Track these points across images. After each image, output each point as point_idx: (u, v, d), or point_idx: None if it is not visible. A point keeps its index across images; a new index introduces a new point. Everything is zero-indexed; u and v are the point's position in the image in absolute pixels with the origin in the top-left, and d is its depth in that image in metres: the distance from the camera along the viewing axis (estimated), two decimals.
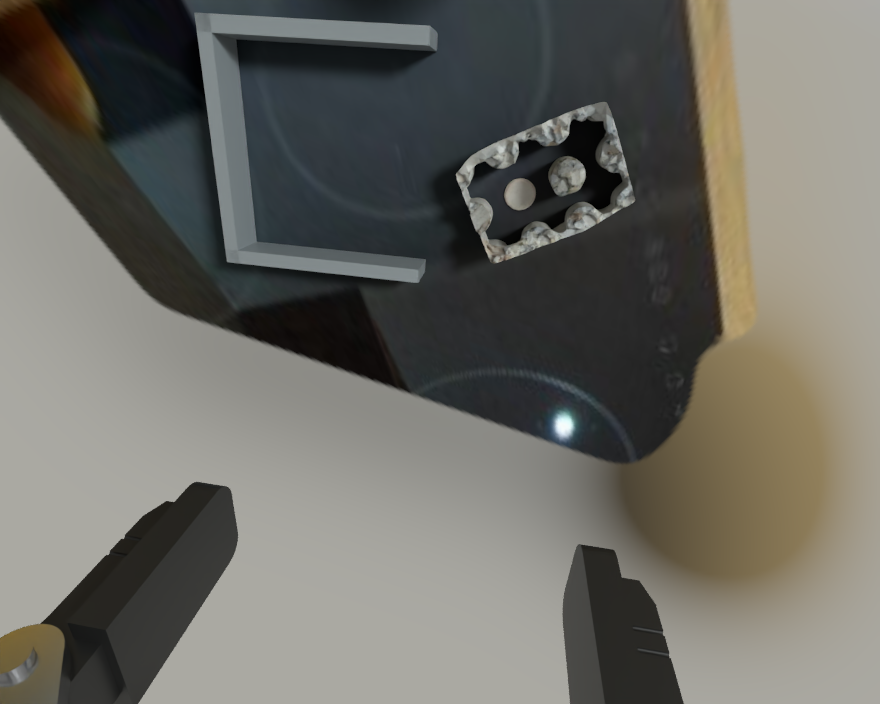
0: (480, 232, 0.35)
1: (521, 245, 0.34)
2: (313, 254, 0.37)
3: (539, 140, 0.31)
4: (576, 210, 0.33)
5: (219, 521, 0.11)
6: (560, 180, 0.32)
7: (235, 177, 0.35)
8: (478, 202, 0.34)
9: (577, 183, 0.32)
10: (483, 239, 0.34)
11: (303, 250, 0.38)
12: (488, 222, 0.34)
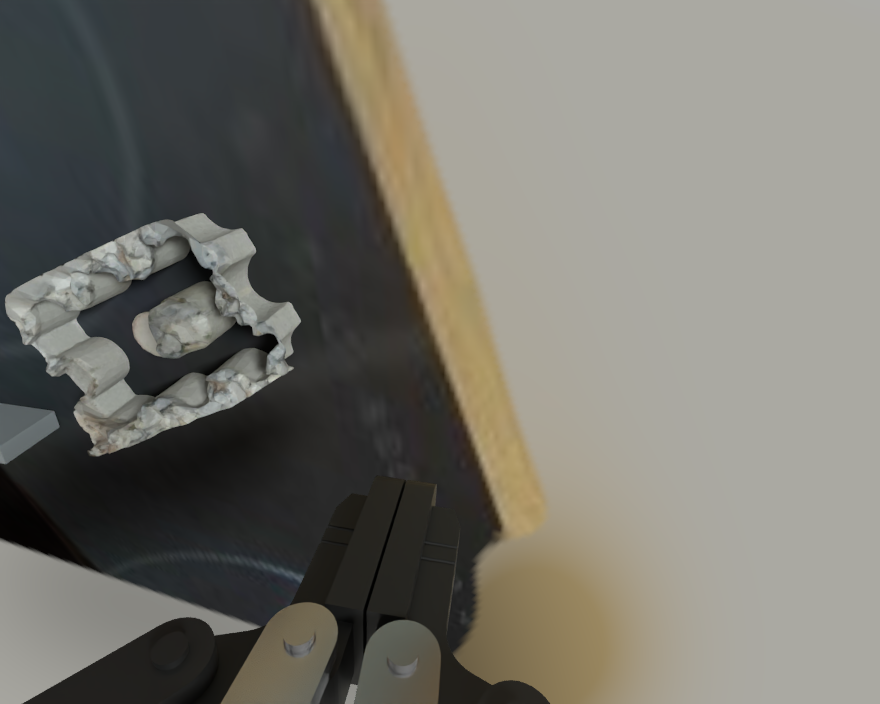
0: (85, 400, 0.21)
1: (133, 429, 0.21)
2: None
3: (112, 271, 0.18)
4: (208, 378, 0.20)
5: None
6: (164, 334, 0.19)
7: None
8: (68, 357, 0.21)
9: (196, 339, 0.19)
10: (77, 417, 0.21)
11: None
12: (94, 385, 0.21)
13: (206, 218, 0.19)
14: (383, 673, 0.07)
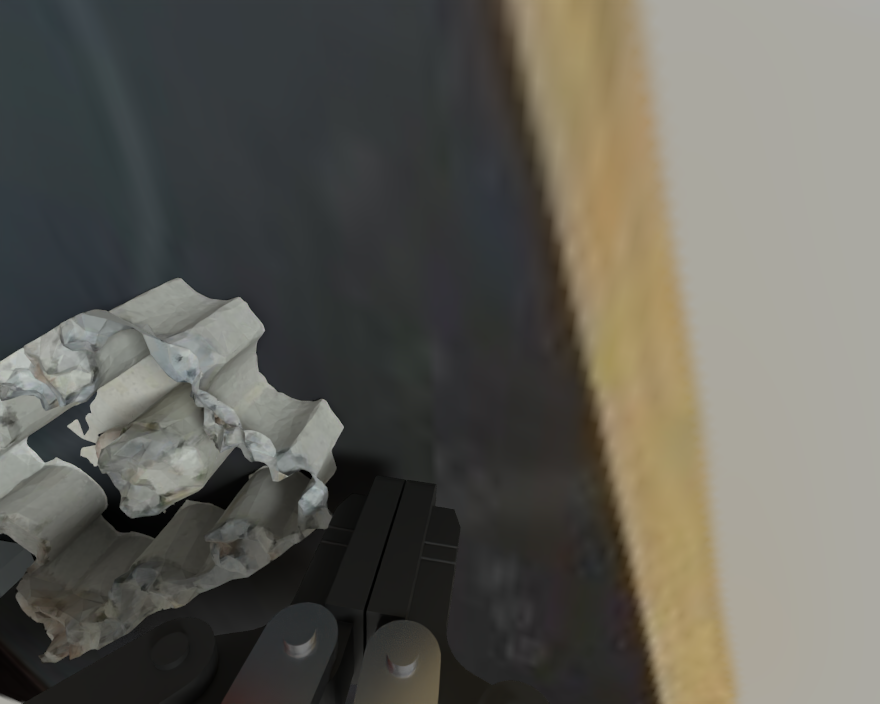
0: (34, 570, 0.14)
1: (104, 619, 0.13)
2: None
3: (34, 393, 0.11)
4: (208, 538, 0.12)
5: None
6: (129, 482, 0.12)
7: None
8: None
9: (181, 484, 0.12)
10: (21, 603, 0.14)
11: None
12: (44, 549, 0.14)
13: (181, 287, 0.12)
14: (383, 673, 0.07)
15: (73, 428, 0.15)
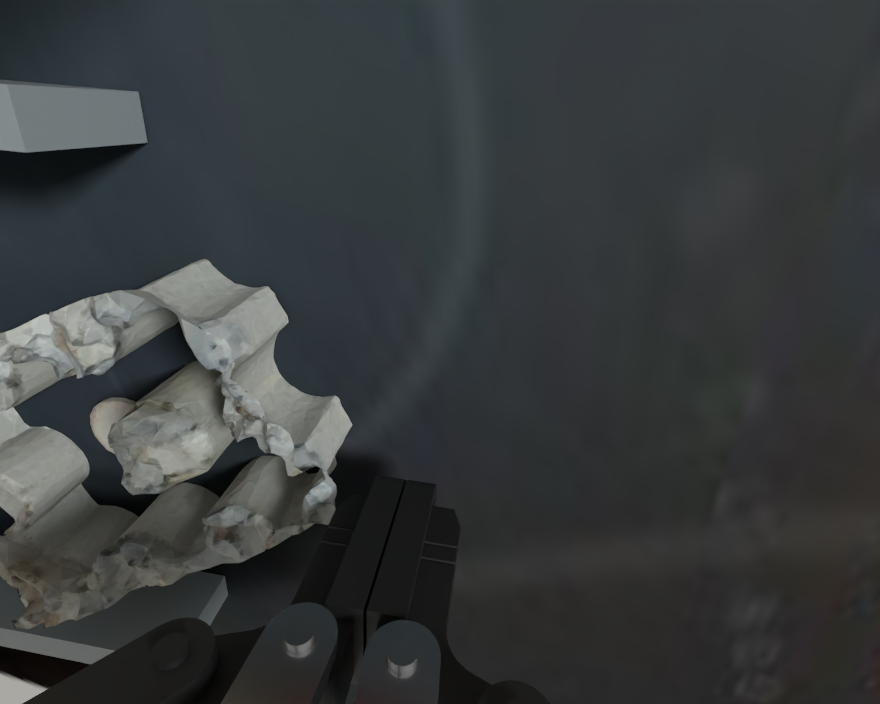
0: (13, 533, 0.14)
1: (86, 590, 0.13)
2: None
3: (48, 360, 0.11)
4: (206, 521, 0.12)
5: None
6: (136, 458, 0.11)
7: None
8: None
9: (188, 466, 0.12)
10: None
11: None
12: (27, 513, 0.14)
13: (209, 268, 0.12)
14: (383, 673, 0.07)
15: None
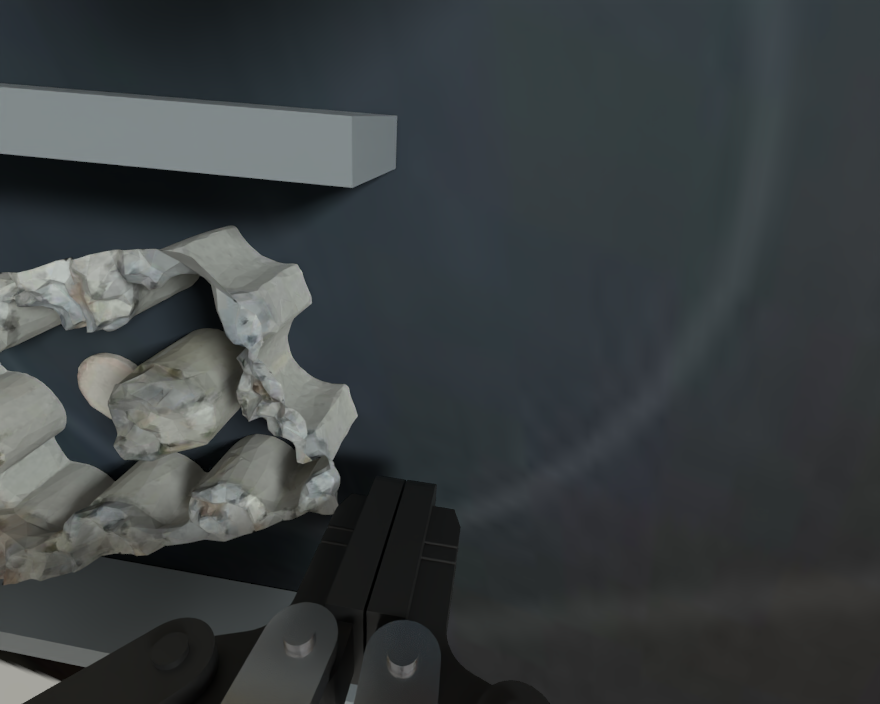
0: None
1: (53, 550, 0.12)
2: (112, 614, 0.16)
3: (55, 307, 0.10)
4: (196, 496, 0.12)
5: None
6: (133, 423, 0.11)
7: None
8: None
9: (188, 438, 0.11)
10: None
11: (94, 590, 0.16)
12: None
13: (238, 236, 0.11)
14: (383, 673, 0.07)
15: None
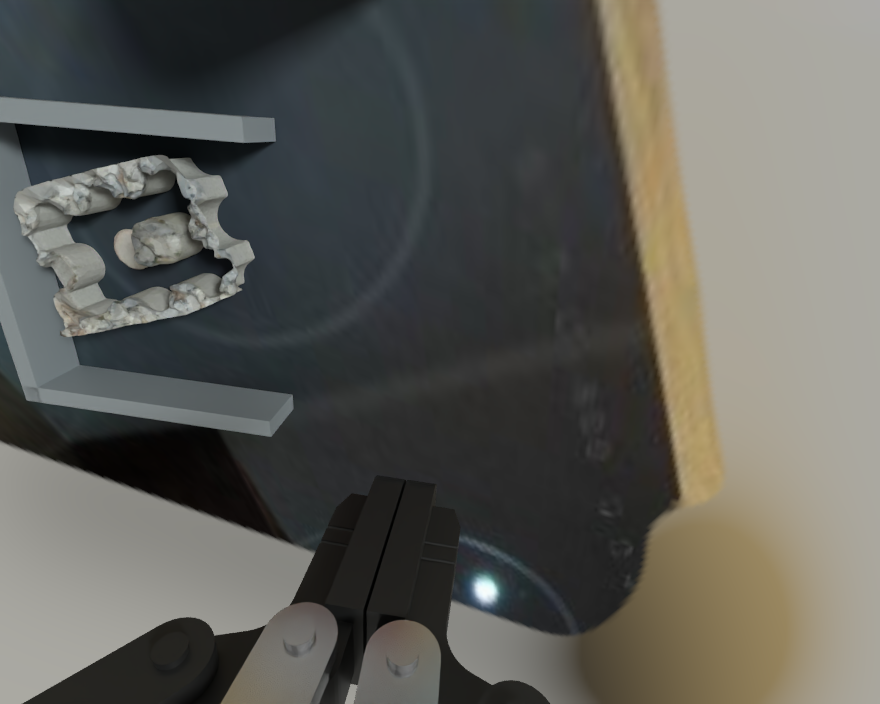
0: (63, 291, 0.26)
1: (102, 319, 0.25)
2: (141, 391, 0.28)
3: (109, 188, 0.23)
4: (171, 287, 0.25)
5: None
6: (142, 245, 0.24)
7: (25, 297, 0.27)
8: (56, 253, 0.25)
9: (167, 253, 0.24)
10: (56, 303, 0.25)
11: (131, 383, 0.29)
12: (74, 280, 0.26)
13: (192, 162, 0.24)
14: (383, 673, 0.07)
15: None
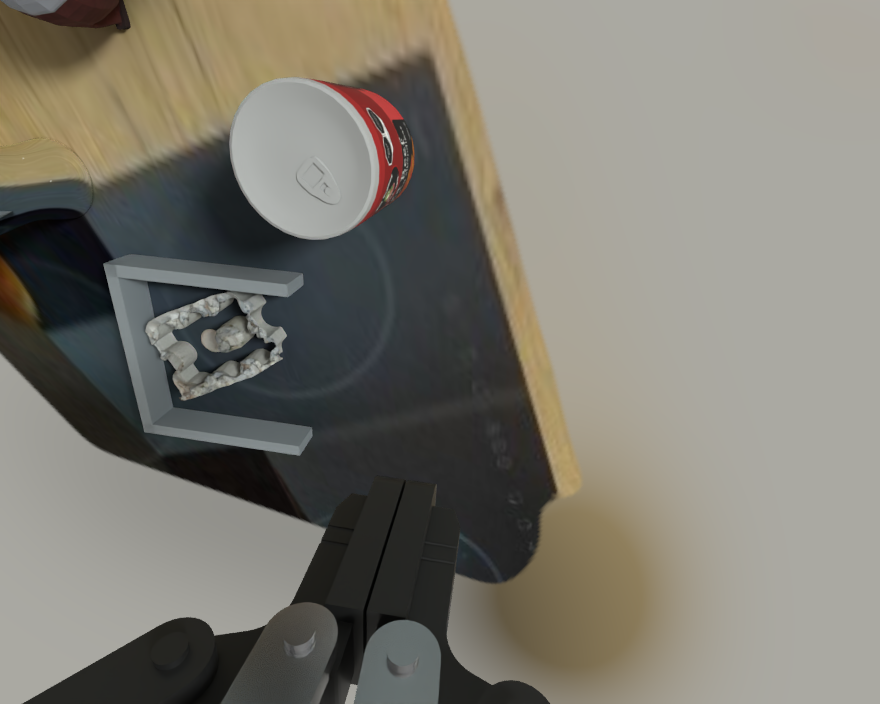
0: (176, 373, 0.43)
1: (203, 387, 0.42)
2: (216, 426, 0.45)
3: (199, 312, 0.39)
4: (241, 362, 0.41)
5: None
6: (222, 341, 0.40)
7: (147, 370, 0.43)
8: (170, 351, 0.42)
9: (236, 343, 0.40)
10: (174, 381, 0.42)
11: (209, 420, 0.46)
12: (182, 365, 0.42)
13: None
14: (383, 673, 0.07)
15: None
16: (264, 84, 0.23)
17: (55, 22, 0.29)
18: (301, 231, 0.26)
